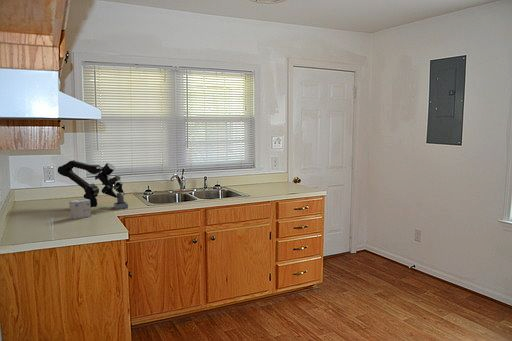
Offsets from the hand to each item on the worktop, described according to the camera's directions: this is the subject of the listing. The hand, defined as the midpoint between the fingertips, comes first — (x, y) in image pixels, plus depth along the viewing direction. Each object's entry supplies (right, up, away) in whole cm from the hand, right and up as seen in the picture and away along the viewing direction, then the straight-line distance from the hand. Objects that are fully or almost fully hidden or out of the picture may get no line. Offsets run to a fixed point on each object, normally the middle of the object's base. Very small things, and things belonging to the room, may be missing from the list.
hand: (120, 196), depth 277 cm
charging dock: (0, -8, +1) cm, 8 cm away
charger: (0, -8, +1) cm, 8 cm away
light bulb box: (-17, -12, -24) cm, 32 cm away
